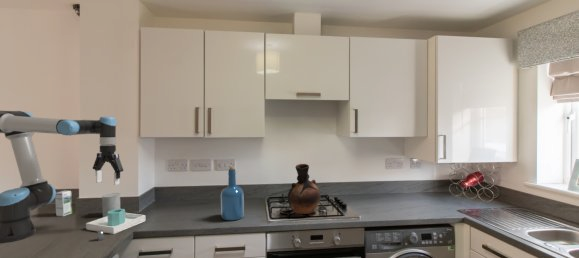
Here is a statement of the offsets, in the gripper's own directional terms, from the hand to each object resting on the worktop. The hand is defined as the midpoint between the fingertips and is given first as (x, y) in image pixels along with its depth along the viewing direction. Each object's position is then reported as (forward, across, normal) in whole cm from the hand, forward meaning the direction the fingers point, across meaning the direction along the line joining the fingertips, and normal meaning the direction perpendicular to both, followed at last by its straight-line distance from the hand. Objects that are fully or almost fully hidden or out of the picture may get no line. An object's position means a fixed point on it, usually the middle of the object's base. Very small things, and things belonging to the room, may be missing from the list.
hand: (107, 183), depth 159 cm
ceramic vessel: (+20, -98, -53) cm, 113 cm away
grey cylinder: (+24, +14, -14) cm, 31 cm away
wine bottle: (+21, -60, -33) cm, 71 cm away
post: (+23, -15, +15) cm, 31 cm away
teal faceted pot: (+22, -5, -2) cm, 23 cm away
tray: (+23, -5, -2) cm, 24 cm away
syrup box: (+25, +43, -5) cm, 50 cm away
